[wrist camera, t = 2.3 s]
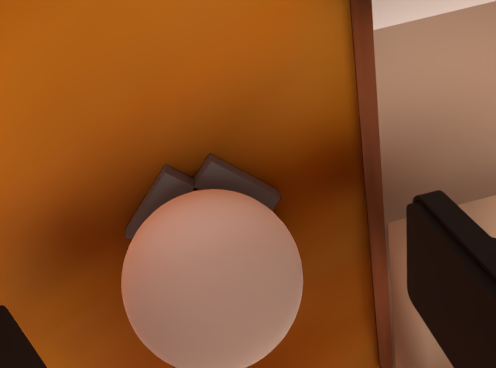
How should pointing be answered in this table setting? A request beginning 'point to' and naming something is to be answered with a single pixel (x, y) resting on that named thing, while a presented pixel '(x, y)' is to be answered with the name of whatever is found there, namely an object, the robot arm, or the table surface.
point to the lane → (422, 140)
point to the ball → (212, 280)
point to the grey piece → (200, 188)
